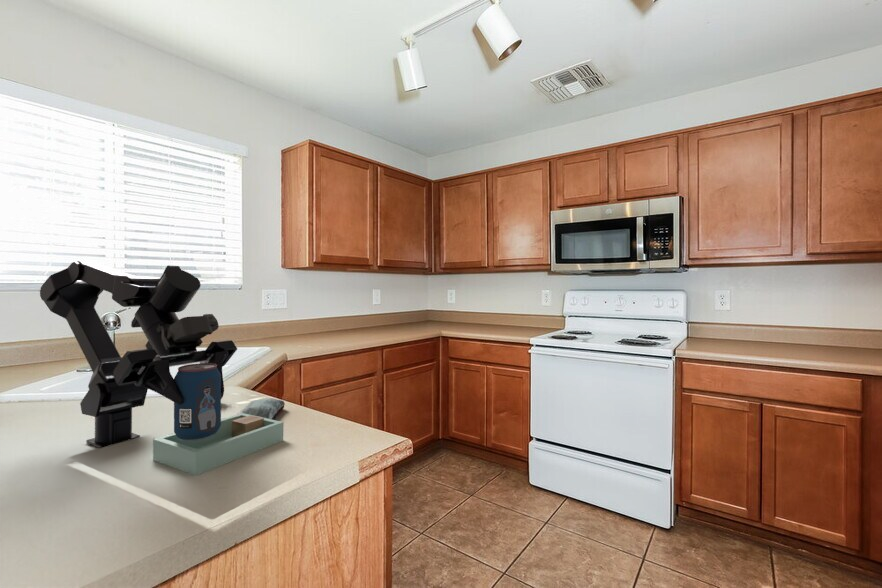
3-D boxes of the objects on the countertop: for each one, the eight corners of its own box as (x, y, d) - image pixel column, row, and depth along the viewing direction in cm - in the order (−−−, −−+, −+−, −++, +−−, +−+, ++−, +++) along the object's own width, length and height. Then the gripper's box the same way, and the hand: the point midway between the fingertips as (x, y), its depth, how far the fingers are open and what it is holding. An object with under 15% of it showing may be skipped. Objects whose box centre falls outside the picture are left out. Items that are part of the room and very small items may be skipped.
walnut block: (231, 441, 76) (231, 420, 76) (250, 435, 80) (250, 415, 80) (245, 445, 75) (245, 424, 75) (263, 438, 78) (263, 418, 78)
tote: (153, 465, 68) (153, 439, 68) (242, 434, 83) (242, 413, 83) (195, 481, 62) (195, 452, 62) (283, 445, 78) (283, 422, 78)
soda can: (191, 427, 72) (191, 362, 72) (228, 428, 72) (228, 362, 72) (164, 442, 66) (163, 370, 65) (205, 443, 65) (205, 370, 65)
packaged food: (229, 431, 85) (230, 408, 85) (249, 414, 97) (249, 394, 97) (272, 430, 87) (272, 407, 87) (286, 414, 98) (286, 394, 98)
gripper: (124, 300, 62) (168, 378, 57) (231, 299, 79) (271, 359, 74) (95, 346, 65) (134, 424, 61) (204, 336, 82) (241, 396, 78)
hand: (202, 397), depth 68 cm, fingers closed on soda can, 7 cm apart
